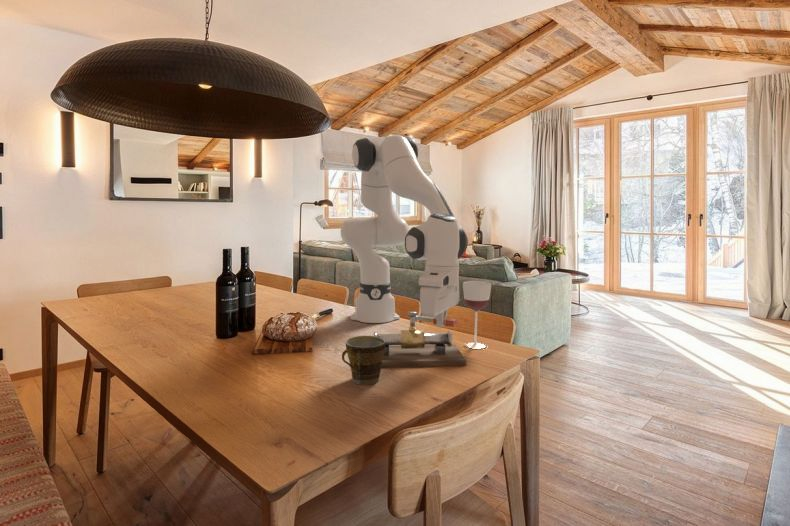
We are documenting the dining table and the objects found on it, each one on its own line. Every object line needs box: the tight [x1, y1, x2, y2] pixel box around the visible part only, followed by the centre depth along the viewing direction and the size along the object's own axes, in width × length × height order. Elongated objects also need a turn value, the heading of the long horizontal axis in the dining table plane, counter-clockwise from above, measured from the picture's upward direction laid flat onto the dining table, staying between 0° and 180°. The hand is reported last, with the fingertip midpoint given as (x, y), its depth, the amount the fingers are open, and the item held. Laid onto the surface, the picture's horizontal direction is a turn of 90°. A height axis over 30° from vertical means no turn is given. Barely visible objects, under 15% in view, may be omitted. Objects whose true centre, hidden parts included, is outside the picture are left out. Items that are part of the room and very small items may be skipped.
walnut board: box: [381, 344, 467, 368], centre depth 131 cm, size 14×28×2 cm, turn 95°
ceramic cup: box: [341, 335, 386, 386], centre depth 112 cm, size 13×10×10 cm
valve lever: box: [407, 310, 458, 328], centre depth 126 cm, size 14×3×4 cm, turn 61°
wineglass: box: [462, 280, 492, 350], centre depth 141 cm, size 8×9×20 cm
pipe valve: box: [373, 326, 453, 356], centre depth 130 cm, size 5×22×8 cm, turn 95°
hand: (441, 326), depth 123 cm, fingers closed
